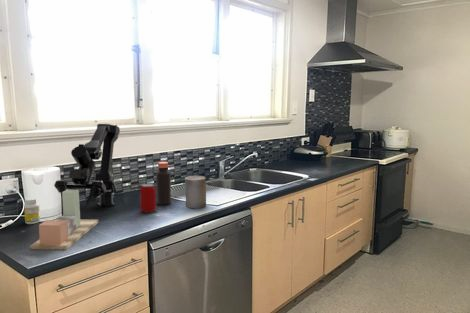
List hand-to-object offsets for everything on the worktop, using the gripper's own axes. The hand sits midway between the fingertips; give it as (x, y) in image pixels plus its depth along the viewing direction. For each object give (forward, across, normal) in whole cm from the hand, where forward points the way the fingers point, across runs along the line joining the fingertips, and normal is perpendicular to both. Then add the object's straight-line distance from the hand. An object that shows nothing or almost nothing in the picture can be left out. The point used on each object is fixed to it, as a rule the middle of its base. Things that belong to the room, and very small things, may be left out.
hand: (75, 205), depth 142 cm
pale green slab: (+12, 0, -2) cm, 12 cm away
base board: (+11, 0, +1) cm, 11 cm away
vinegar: (-19, +26, +33) cm, 46 cm away
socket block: (+17, 0, -7) cm, 19 cm away
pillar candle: (-17, +42, +30) cm, 55 cm away
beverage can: (-10, +22, +24) cm, 34 cm away
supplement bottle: (+2, -20, +11) cm, 23 cm away
